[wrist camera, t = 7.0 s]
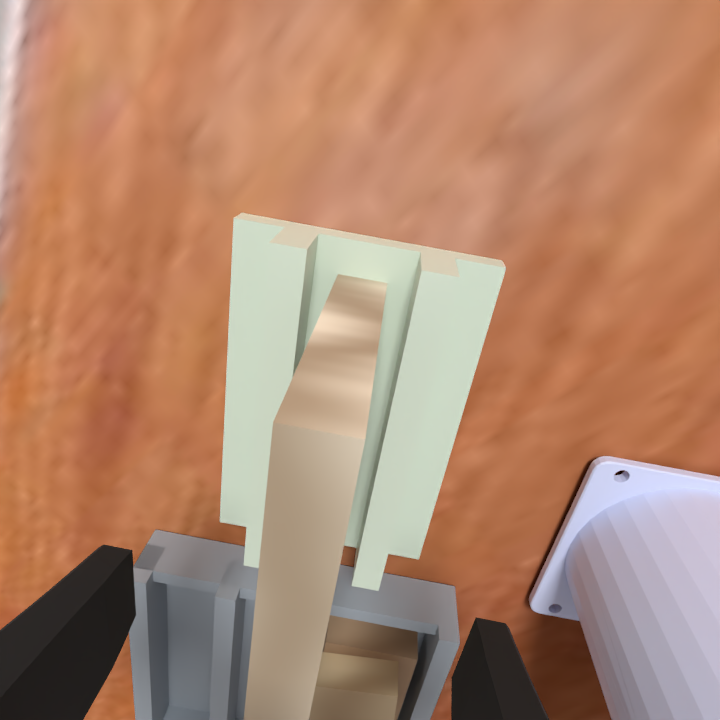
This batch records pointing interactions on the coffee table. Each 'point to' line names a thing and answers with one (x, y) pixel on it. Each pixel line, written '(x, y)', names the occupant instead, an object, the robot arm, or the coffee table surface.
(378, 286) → the birch sheet
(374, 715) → the offcut upper
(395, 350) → the stand
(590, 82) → the coffee table surface
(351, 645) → the offcut lower
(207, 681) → the tray
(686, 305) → the coffee table surface
